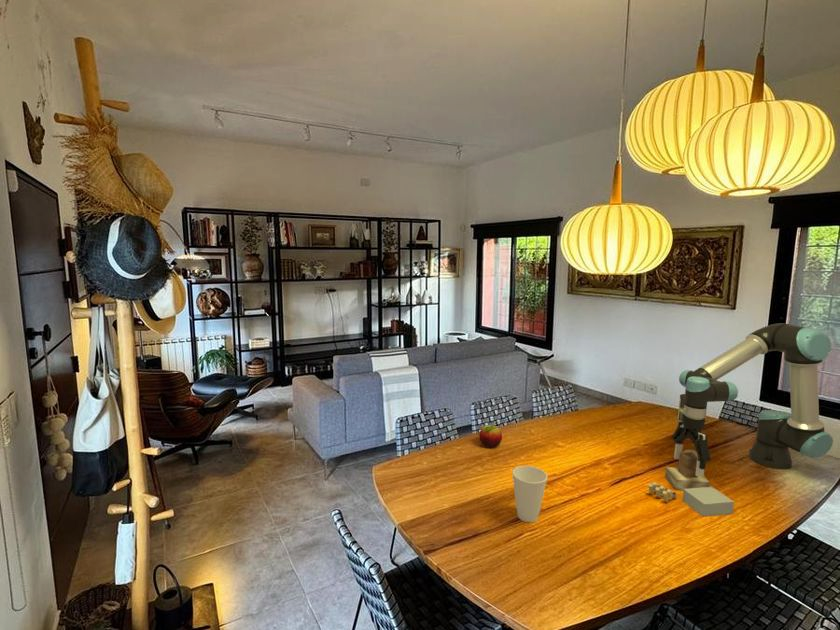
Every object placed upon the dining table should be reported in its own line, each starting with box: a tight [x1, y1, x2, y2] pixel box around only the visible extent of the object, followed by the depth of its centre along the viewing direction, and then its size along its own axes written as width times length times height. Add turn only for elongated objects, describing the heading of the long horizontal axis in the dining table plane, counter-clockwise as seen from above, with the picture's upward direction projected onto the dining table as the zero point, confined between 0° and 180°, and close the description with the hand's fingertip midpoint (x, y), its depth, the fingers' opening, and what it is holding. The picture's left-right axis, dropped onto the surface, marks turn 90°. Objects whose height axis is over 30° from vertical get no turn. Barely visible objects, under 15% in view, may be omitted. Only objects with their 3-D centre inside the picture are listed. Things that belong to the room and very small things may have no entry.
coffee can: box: [677, 393, 685, 423], centre depth 241 cm, size 10×10×14 cm
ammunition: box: [647, 481, 678, 503], centre depth 168 cm, size 5×7×8 cm
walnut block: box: [677, 453, 699, 478], centre depth 176 cm, size 5×5×8 cm
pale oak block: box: [664, 466, 710, 492], centre depth 177 cm, size 12×10×5 cm
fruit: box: [478, 424, 503, 449], centre depth 210 cm, size 11×11×10 cm
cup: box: [511, 465, 548, 523], centre depth 154 cm, size 12×12×16 cm
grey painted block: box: [681, 486, 735, 517], centre depth 162 cm, size 12×10×5 cm
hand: (688, 467), depth 176 cm, fingers open, 13 cm apart
